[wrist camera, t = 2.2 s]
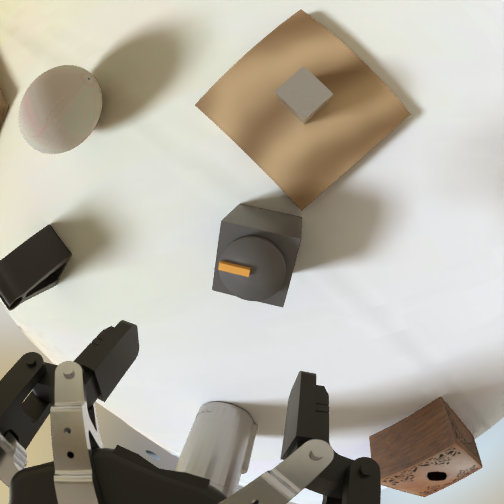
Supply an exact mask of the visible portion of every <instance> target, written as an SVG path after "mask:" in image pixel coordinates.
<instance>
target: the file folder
mask: <svg viewBox="0 0 504 504" xmlns="http://www.w3.org/2000/svg"><path fill="white" fill-rule="evenodd" d="M8 108H9V105H7V103H6V100H5V98H4V95H3V93H2V91H1V89H0V128H1V125H2V122H3V120H4V117H5V115H6V112H7V110H8Z"/></svg>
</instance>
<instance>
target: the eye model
mask: <svg viewBox="0 0 504 504" xmlns="http://www.w3.org/2000/svg"><path fill="white" fill-rule="evenodd" d="M101 110H102V93H101V89H100V86H99V84H98V82H97V80H96V79H95V77H94V76H93V75H92V74H91V73H90V72H88V71H87V70H85V69H83V68H81V67H77V66H73V65H64V66H58V67H55V68H52V69H50V70H48V71H46V72H44V73H43V74H41V75H40V76H39V77H38V78H37V79H35V80H34V82H33V83H32V84H31V85H30V86H29V88H28V89H27V91H26V92H25V94H24V96H23V99H22V101H21V104H20V109H19V126H20V130H21V133H22V135H23V137H24V139H25V140H26V142H27V143H28V144H29V145H30V146H31V147H33V148H34V149H36V150H38V151H40V152H43V153H48V154H58V153H63V152H66V151H69V150H71V149H73V148H75V147H77V146H78V145H79V144H81V143H82V142H83V141H84V140H85V139H86V138H87V137H88V136H89V135H90V134H91V133H92V131H93V130H94V128H95V127H96V125H97V123H98V120H99V118H100V114H101Z"/></svg>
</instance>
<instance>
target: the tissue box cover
mask: <svg viewBox="0 0 504 504" xmlns="http://www.w3.org/2000/svg"><path fill="white" fill-rule="evenodd" d="M369 439H370V450H371V459H373V460H375V461H376V462H377V463H378V465H379V467H380V473H381V485H384V486H387V487H391V488H393V489H397V490H400V491H404V492H407V493H411V494H415V495H419V496H423V497H426V496H428V495H430V494H433V493H435V492H437V491H439V490H441V489H443V488H445V487H447V486H450V485H451V484H454V483H456V482H457V481H459V480H461V479H463V478H465V477H467V476H469V475H470V474H472V473H474V472H475V471H477V470H479V469H481V468H482V464H481V460H480V456H479V453H478V450H477V447H476V443H475V440H474V437H473V435H472V433H471V432H470V431H469V430H468V429H467V427H466V426H465V425H464V424H463V422H462V421H461V420H460V419H459V418H458V416H457V415H456V414H455V413H454V412H453V410H452V409H451V408H450V407H449V406H448V405H447V403H446V402H445V401H444V400H443V399H442V397H439V398H438V399H436V400H435V401H433V402H432V403H430V404H428V405H427V406H425V407H424V408H422V409H420V410H419V411H417V412H415V413H414V414H412V415H410V416H408V417H407V418H405V419H403V420H401V421H399V422H398V423H396V424H394V425H392V426H390V427H388V428H386V429H384V430H382V431H380V432H378V433H376V434H374V435H372V436H370V437H369Z"/></svg>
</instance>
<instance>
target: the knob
mask: <svg viewBox="0 0 504 504" xmlns="http://www.w3.org/2000/svg"><path fill="white" fill-rule="evenodd" d="M301 228H302V217H298V216H293V215H289V214H284V213H280V212H275V211H271V210H266V209H262V208H257V207H252V206H247V205H243V204H239V205H238V206H237V207H236V208H235V209H234V210H232V211H231V212H230V213H229V214H228V215H227V216H226V217H225V218H224V219H223V220H222V221H221V227H220V234H219V241H218V248H217V256H216V264H215V271H214V279H213V287H212V290H214V291H218V292H222V293H226V294H230V295H234V296H237V297H239V298H241V299H244V300H249V301H258V302H262V303H267V304H271V305H275V306H280V307H283V306H284V302H285V299H286V295H287V292H288V288H289V284H290V280H291V277H292V273H293V269H294V265H295V261H296V257H297V253H298V249H299V245H300V241H301Z"/></svg>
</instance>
